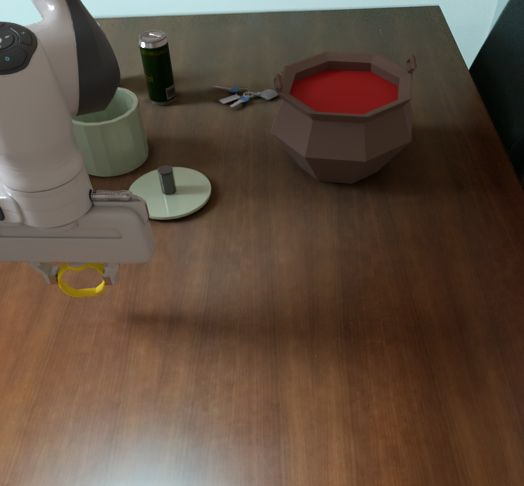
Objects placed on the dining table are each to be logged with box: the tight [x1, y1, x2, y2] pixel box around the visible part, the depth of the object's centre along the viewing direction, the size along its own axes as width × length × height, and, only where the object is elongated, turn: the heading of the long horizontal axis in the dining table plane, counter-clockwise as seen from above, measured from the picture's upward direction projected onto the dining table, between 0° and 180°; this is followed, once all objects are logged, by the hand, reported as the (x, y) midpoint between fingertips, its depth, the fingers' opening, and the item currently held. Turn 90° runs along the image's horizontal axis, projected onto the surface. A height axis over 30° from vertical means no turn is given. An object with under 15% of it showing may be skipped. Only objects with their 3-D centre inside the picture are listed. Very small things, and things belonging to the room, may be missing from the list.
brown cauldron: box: [270, 50, 418, 185], centre depth 94 cm, size 24×24×16 cm
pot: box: [71, 86, 150, 178], centre depth 100 cm, size 13×13×10 cm
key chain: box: [211, 85, 279, 108], centre depth 114 cm, size 14×8×1 cm, turn 80°
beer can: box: [138, 29, 177, 106], centre depth 111 cm, size 5×5×12 cm
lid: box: [128, 164, 212, 221], centre depth 93 cm, size 14×14×5 cm
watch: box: [58, 262, 108, 299], centre depth 74 cm, size 6×3×6 cm, turn 101°
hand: (83, 281), depth 75 cm, fingers closed on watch, 6 cm apart
